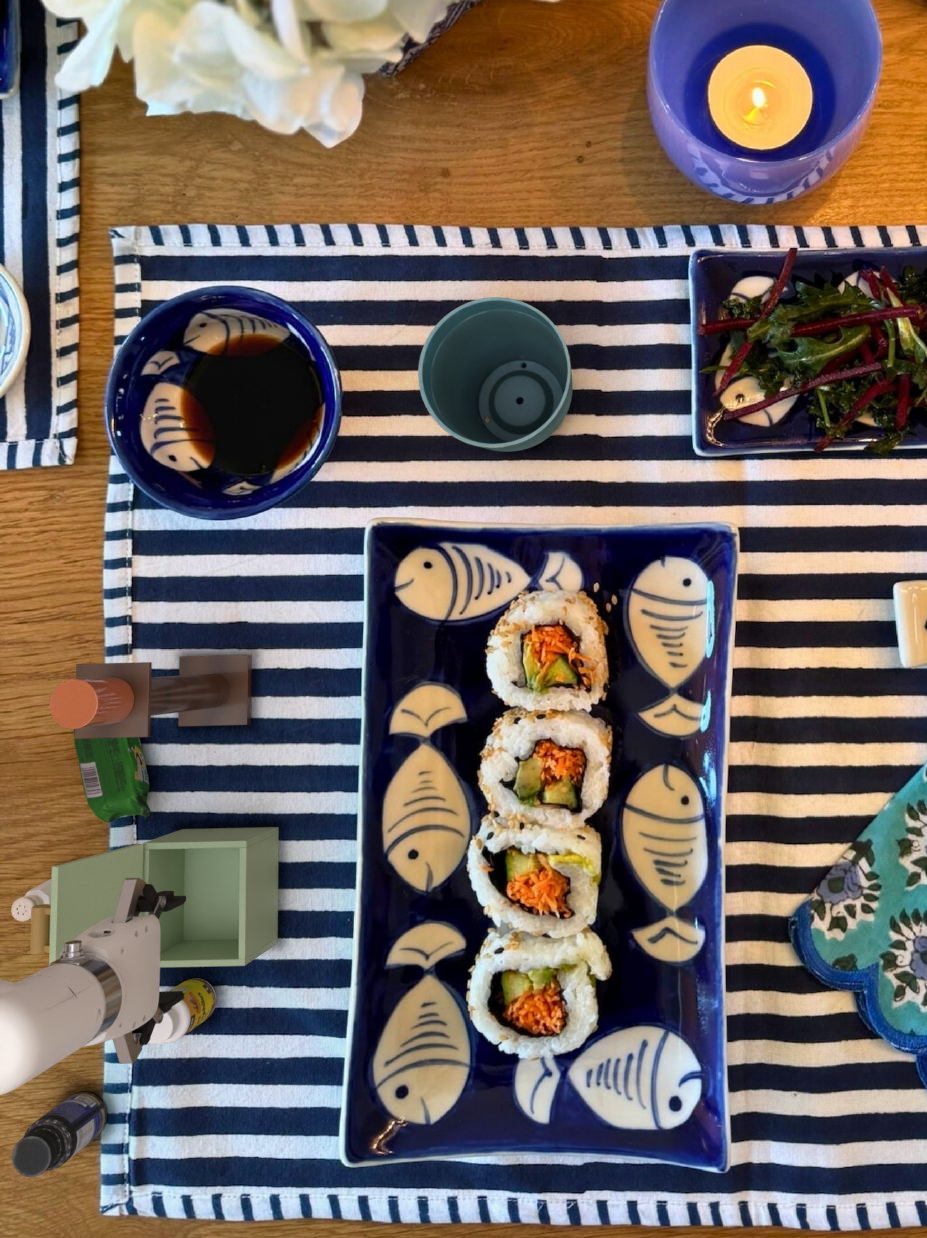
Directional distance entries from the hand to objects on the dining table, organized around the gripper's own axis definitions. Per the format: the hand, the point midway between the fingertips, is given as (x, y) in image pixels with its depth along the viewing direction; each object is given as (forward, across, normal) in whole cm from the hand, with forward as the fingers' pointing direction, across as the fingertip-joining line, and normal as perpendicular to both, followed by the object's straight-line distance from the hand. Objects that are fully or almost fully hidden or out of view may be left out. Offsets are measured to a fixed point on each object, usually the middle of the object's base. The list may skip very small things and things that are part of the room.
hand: (171, 946), depth 113 cm
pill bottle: (+27, +28, -24) cm, 45 cm away
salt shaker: (+27, 0, -26) cm, 37 cm away
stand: (+27, -25, -8) cm, 38 cm away
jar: (+2, -25, -8) cm, 27 cm away
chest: (+27, 0, -6) cm, 28 cm away
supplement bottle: (+27, +14, -10) cm, 32 cm away
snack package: (+27, -17, -20) cm, 38 cm away
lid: (+10, 0, -13) cm, 16 cm away
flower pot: (+27, -62, +32) cm, 75 cm away
